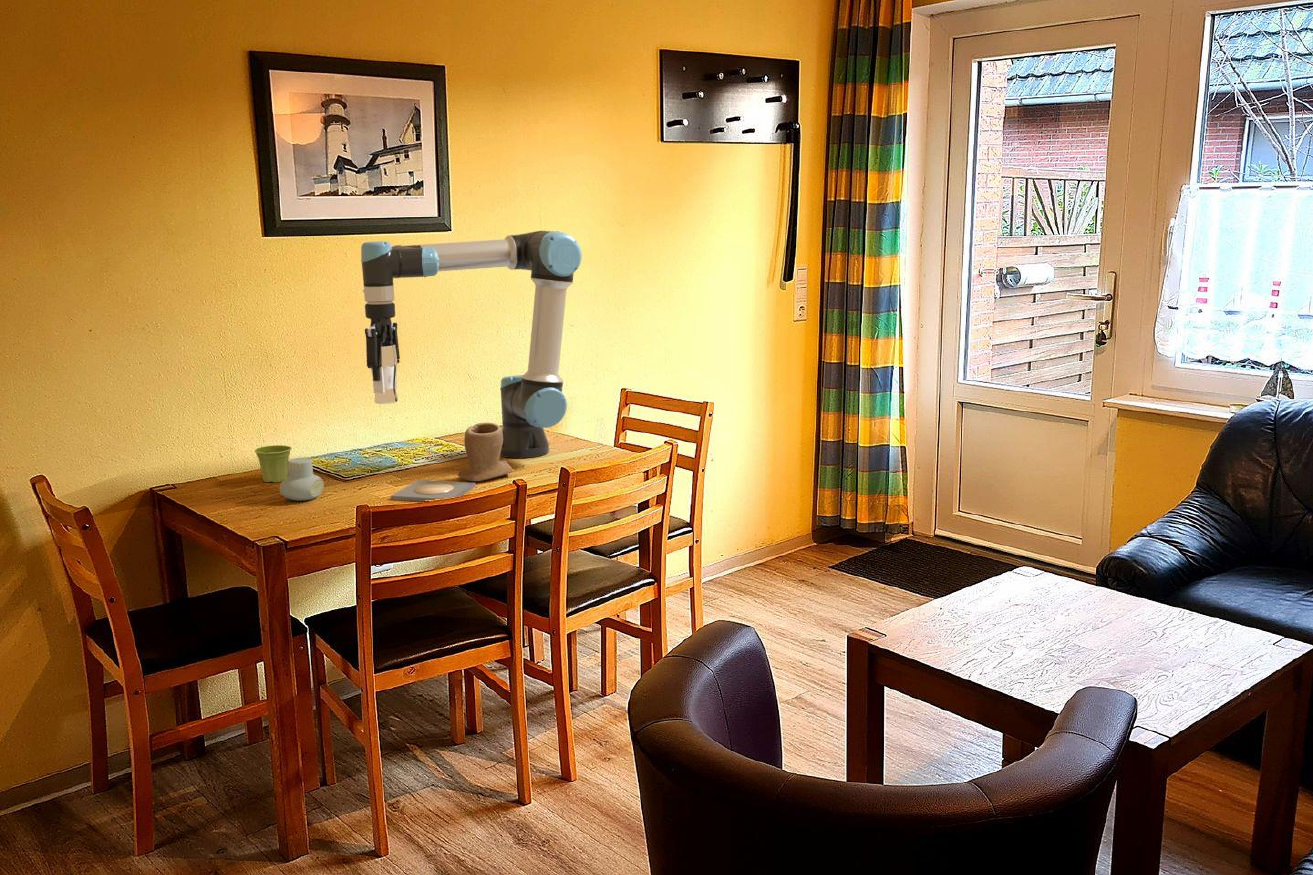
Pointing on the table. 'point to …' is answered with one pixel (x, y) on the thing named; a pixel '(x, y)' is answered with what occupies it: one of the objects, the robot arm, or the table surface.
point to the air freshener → (301, 481)
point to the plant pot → (274, 462)
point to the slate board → (432, 490)
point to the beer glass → (388, 376)
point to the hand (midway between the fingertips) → (385, 390)
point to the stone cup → (484, 453)
